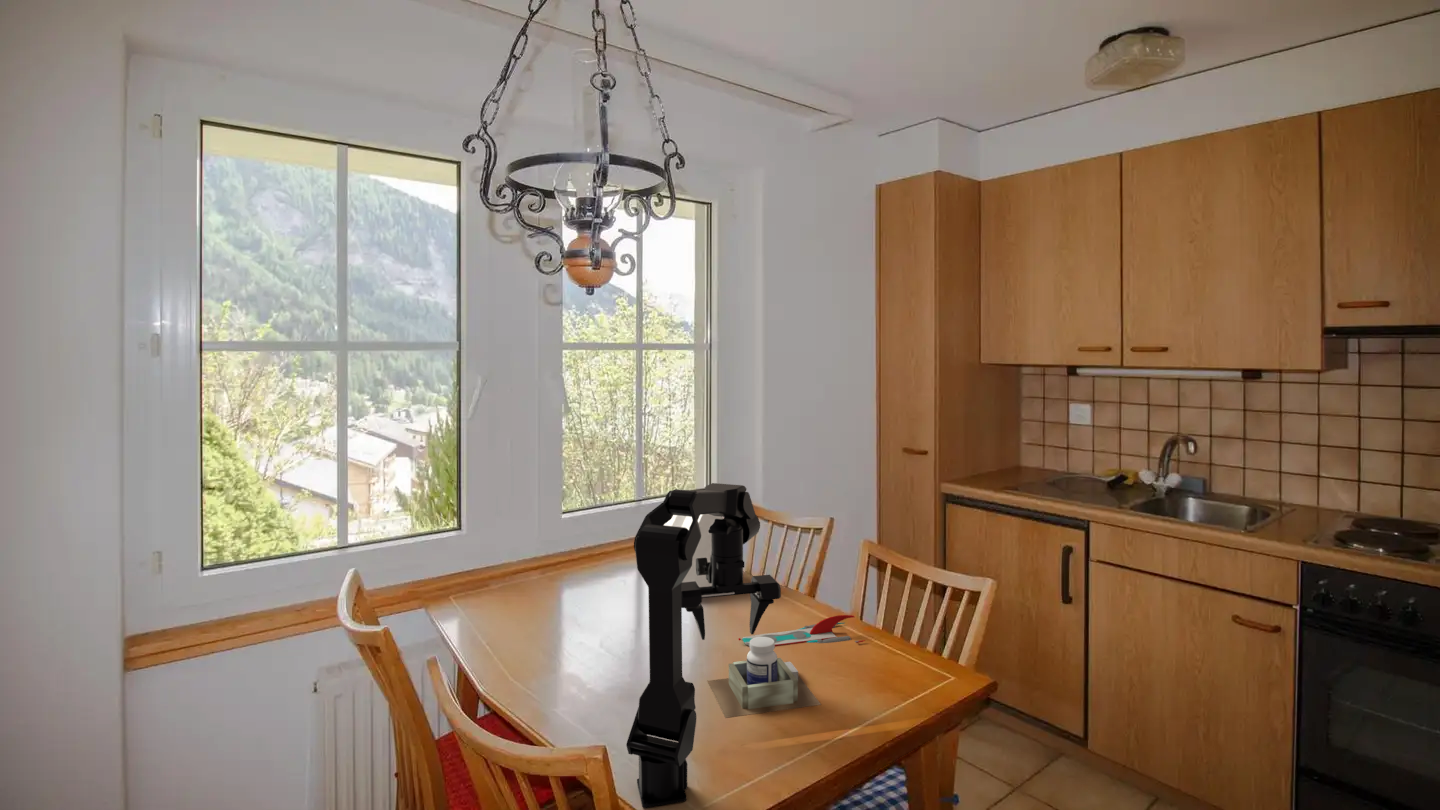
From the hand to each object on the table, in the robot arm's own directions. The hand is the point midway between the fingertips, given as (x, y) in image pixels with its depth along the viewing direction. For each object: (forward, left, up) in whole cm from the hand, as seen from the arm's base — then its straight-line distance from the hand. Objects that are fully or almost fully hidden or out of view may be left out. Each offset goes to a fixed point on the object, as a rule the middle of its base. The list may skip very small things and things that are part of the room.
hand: (727, 636), depth 129 cm
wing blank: (+13, +5, -12) cm, 19 cm away
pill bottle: (+7, +1, -12) cm, 14 cm away
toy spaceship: (+22, +23, -14) cm, 35 cm away
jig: (+7, +1, -13) cm, 15 cm away
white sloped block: (+7, +63, -13) cm, 65 cm away
